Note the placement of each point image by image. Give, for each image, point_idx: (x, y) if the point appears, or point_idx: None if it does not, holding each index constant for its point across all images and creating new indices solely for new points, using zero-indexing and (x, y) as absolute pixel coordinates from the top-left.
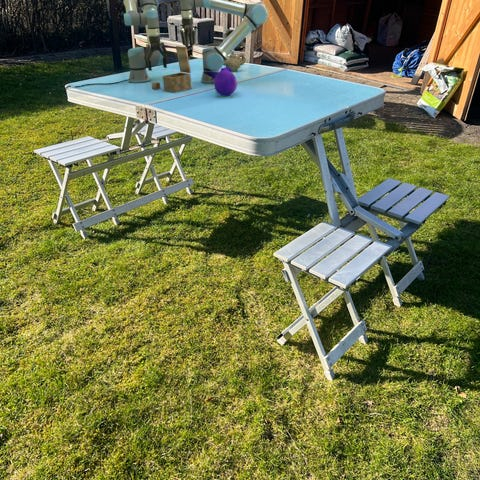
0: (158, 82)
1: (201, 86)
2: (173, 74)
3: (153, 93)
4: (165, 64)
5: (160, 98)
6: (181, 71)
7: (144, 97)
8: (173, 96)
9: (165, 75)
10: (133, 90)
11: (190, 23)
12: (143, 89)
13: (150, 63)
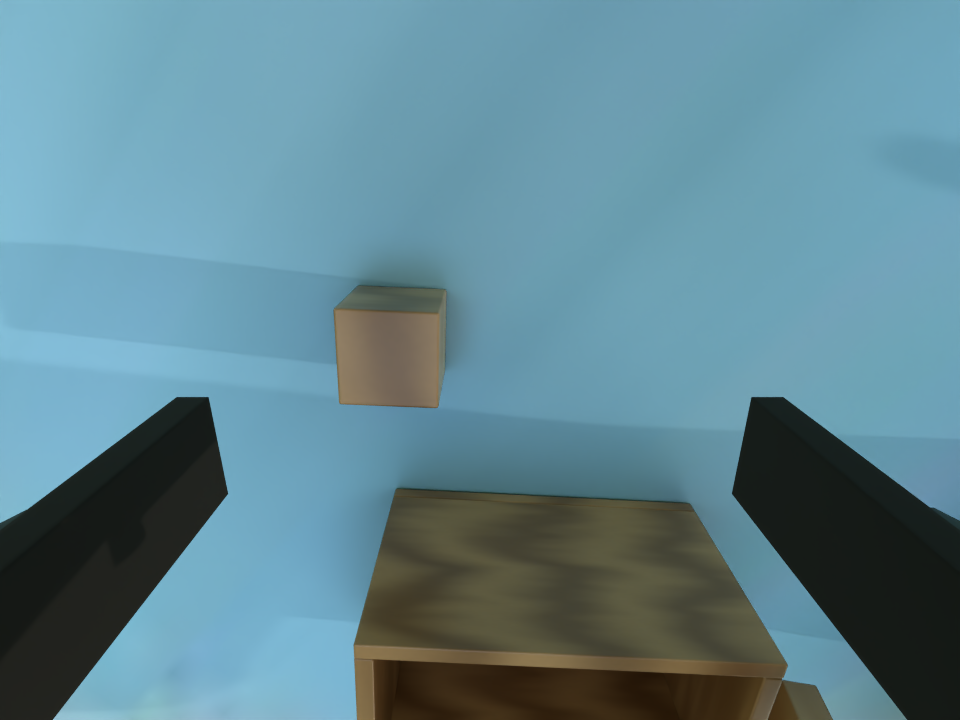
0: (426, 384)
1: (813, 641)
2: (589, 664)
3: None
4: (783, 545)
5: (155, 688)
6: (774, 715)
7: None
8: (295, 717)
9: (413, 655)
10: (84, 116)
11: None
12: (245, 196)
13: (76, 653)
